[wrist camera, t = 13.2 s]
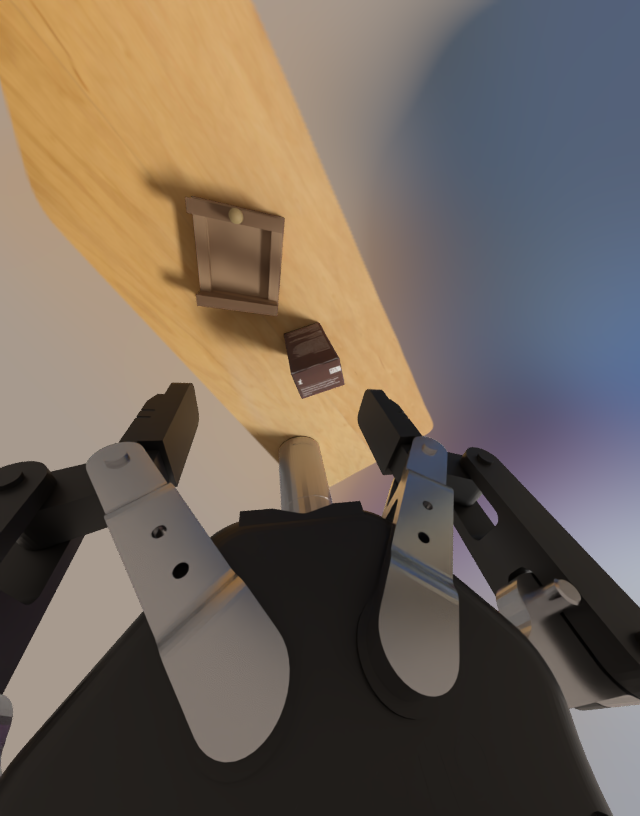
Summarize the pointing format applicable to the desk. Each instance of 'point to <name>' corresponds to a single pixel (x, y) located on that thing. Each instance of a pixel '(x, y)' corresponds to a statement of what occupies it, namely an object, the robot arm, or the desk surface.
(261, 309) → the drawer
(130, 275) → the desk surface
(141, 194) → the desk surface
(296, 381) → the box
